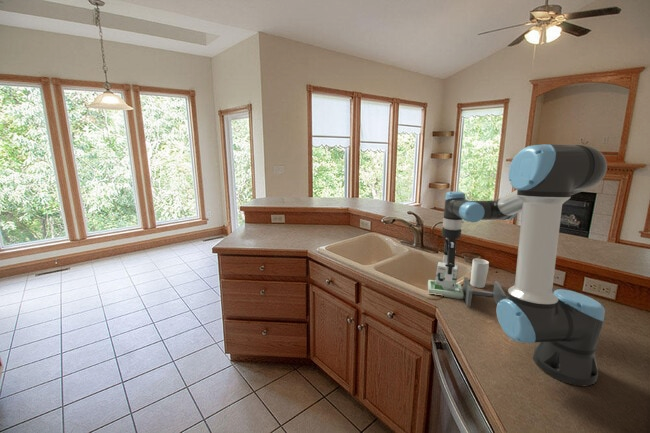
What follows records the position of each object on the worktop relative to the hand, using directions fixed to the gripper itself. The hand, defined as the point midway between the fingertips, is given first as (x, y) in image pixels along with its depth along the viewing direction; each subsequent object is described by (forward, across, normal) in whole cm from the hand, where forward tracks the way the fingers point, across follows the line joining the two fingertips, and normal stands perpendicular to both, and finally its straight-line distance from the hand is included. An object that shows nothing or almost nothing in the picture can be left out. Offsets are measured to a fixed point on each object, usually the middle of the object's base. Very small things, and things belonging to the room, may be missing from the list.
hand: (446, 274), depth 133 cm
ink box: (+8, 0, 0) cm, 8 cm away
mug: (+9, +13, -16) cm, 23 cm away
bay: (+9, -4, -14) cm, 17 cm away
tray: (+8, 0, 0) cm, 8 cm away
